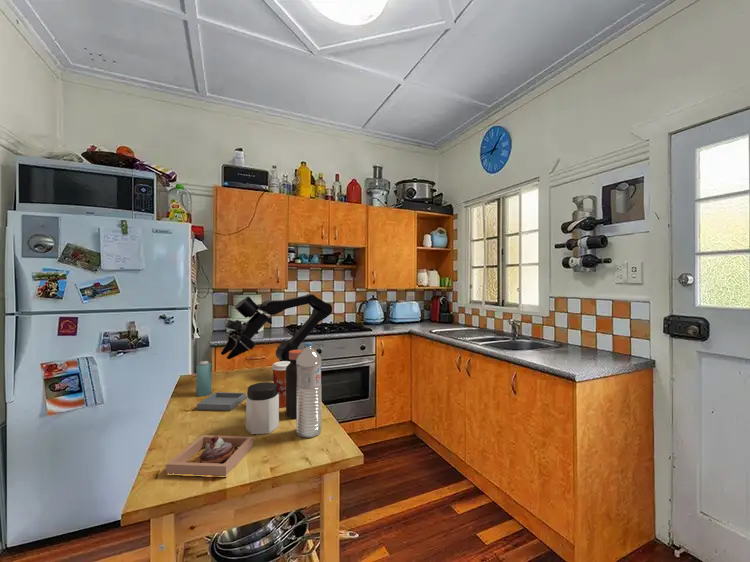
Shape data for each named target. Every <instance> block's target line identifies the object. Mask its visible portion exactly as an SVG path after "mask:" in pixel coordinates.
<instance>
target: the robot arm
mask: <svg viewBox="0 0 750 562" xmlns="http://www.w3.org/2000/svg"><path fill="white" fill-rule="evenodd" d="M304 305H309V306H310V307H311V308H312V311H311V313H310V314H311V315H310V316H309V318H307V320H306V321H305V322H304V323H303V325H302V326H300V328H299V329H298V330H297V331H296V332H295V333H294V335H293V336H292V337H291V338H290V339H288V340H282V341H281V343H280V344H279V345H278V346H276V348H277V349H276V350H275V356H276V358H277V359H278V361H279V362H281V361H290V360H289V351H291V350H299V346H300V345H301V344H302V343H303V341H304V340H306V338H307V337H308V336H309V335H310V334H311V332H312V331H313V330H314V329H315V328H316V327H317V325H318V324H319V323H320V322H322V321H324V320H326V318H328V317H329V316H330V315H331V314H332V313H333V306H332V304H330V302H329V303H328V302H325V301H324V300H322V299H320V297H319V298H318V297H317V296H316V295H315V294H312V293H311V294H310V293H309V294H306V295H301V296H296V297H292V298H287V299H277V300H275V299H270V300H265V301H263V303H259V304H256V302H255V301H254V300H253V299H252V298H251V297H250V296H246V297H245V298H243V299H242V300H240V301H239V302H238V303H237V304H236V305H235V306H234V309H235V310H236V311H238V313H240V315H242V316H243V317H244V318H245V319H247V318H250V319H248V320H247V321H246V322H243V323H242V320H239V319H236V320H235V321H234V320H230V319H228V320H227V322H226V324H225V326H224V327H225V328H227V329H229V331H228V332H227V335H226V337H227V342H226V343H225V345H224V347H223V349H222V350H221V352H220V354H221V355H222V356H224V355H225V354H226V355H227V354H228V355H227V356H226V359H227V360H231V359H233V358H235V357H238V356H239V355H241V354H243V353H246V352H249V351H251V350H253V349H254V347H256V346H255V341H253V340H252V338H254V336H255V335H258V334H259V331H260V330H261V329H262V327H264V325H265V324H269V325H272V324H273V321H272V320H273V318H272V316H275V315H278V314H280V313H282V312H284V311H285V310H287V309H291V308H295V307H296V308H297V307H299V306H300V307H301V306H304ZM260 311H261V312H262V313H261V312H260ZM268 315H270V316H271V317H270V316H268Z"/></svg>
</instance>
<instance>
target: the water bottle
mask: <svg viewBox="0 0 750 562" xmlns="http://www.w3.org/2000/svg"><path fill="white" fill-rule="evenodd" d="M302 350H303V351H302V352H301V353H300V354H299V355H298V357H297V359H296V364H297V387H296V393H297V394H296V403H297V404H296V406H297V407H296V416H297V417H296V427H295V428H296V429H295V430H296V434H297V436H299V437H301V438H305V439H309V438H314V437H317V436H318V435H320V434H321V432H322V357H321V354H320V353H319V352H318V351H317V350H316V349H314V348H313V342H310V341H307V342H305V348H304V349H302Z"/></svg>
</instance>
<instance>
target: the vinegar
mask: <svg viewBox="0 0 750 562" xmlns="http://www.w3.org/2000/svg"><path fill="white" fill-rule="evenodd" d="M303 350H304V349H298V350H291V351H289V360H290V364H289V365H288V366H287V367H286V407H285V415H286V417H287V418H289V419H293V420H294V419H296V417H297V416H296V407H297V406H296V404H297V403H296V394H297V393H296V387H297V364H296V359H297V357H298V355H299V354H300V353H301V352H302V351H303ZM296 420H297V419H296Z"/></svg>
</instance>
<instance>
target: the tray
mask: <svg viewBox="0 0 750 562" xmlns="http://www.w3.org/2000/svg"><path fill="white" fill-rule="evenodd" d="M246 397H247V393H246V392H228V391H227V392H226V391H225V392H224V391H223V392H222V391H221V392H220V391H216V392H214V393H211V394H210V395H208V396H206V398H204V399H202V400H201V401H199V402H198V403H196V411H212V410H216V412H221V411H222V412H231V411H232V410H234V409H235V408H236V407H237V406H238V405H240V404H241V403H242V402H244V401H245V400H246Z"/></svg>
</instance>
